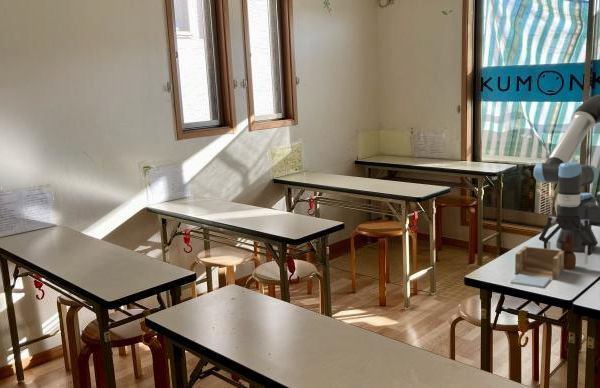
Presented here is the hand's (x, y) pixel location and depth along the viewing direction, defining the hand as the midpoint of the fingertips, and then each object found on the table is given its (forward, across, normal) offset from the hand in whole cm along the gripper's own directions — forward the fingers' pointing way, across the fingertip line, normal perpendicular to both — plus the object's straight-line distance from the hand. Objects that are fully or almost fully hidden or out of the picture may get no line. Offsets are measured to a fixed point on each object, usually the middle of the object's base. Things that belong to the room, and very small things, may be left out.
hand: (566, 261), depth 220 cm
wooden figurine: (+4, 0, 0) cm, 4 cm away
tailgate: (+2, -7, -17) cm, 18 cm away
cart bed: (+4, -7, -11) cm, 13 cm away
